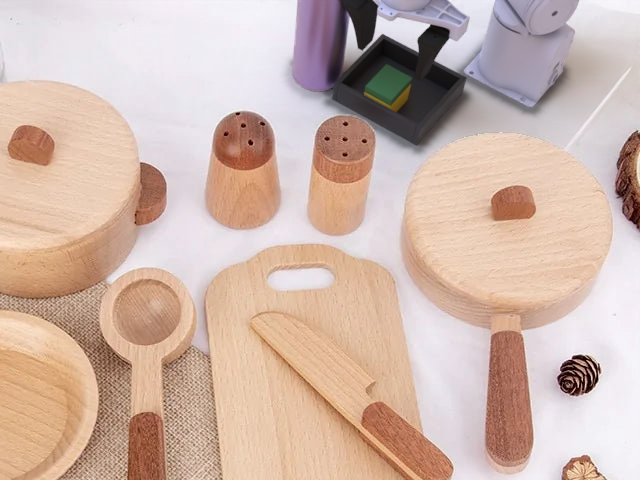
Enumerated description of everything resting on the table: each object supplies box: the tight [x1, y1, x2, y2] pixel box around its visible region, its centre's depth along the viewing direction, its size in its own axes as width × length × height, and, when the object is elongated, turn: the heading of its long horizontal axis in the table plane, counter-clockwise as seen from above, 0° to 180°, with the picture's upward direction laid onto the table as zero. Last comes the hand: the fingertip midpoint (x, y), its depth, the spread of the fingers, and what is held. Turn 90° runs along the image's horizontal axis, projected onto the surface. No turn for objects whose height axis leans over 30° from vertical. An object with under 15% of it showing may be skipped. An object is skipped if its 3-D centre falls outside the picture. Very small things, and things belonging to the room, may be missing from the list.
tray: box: [331, 33, 468, 146], centre depth 126 cm, size 12×10×3 cm
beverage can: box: [291, 0, 351, 92], centre depth 122 cm, size 6×6×15 cm
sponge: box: [364, 64, 412, 112], centre depth 125 cm, size 4×4×4 cm
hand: (393, 59), depth 120 cm, fingers open, 7 cm apart
